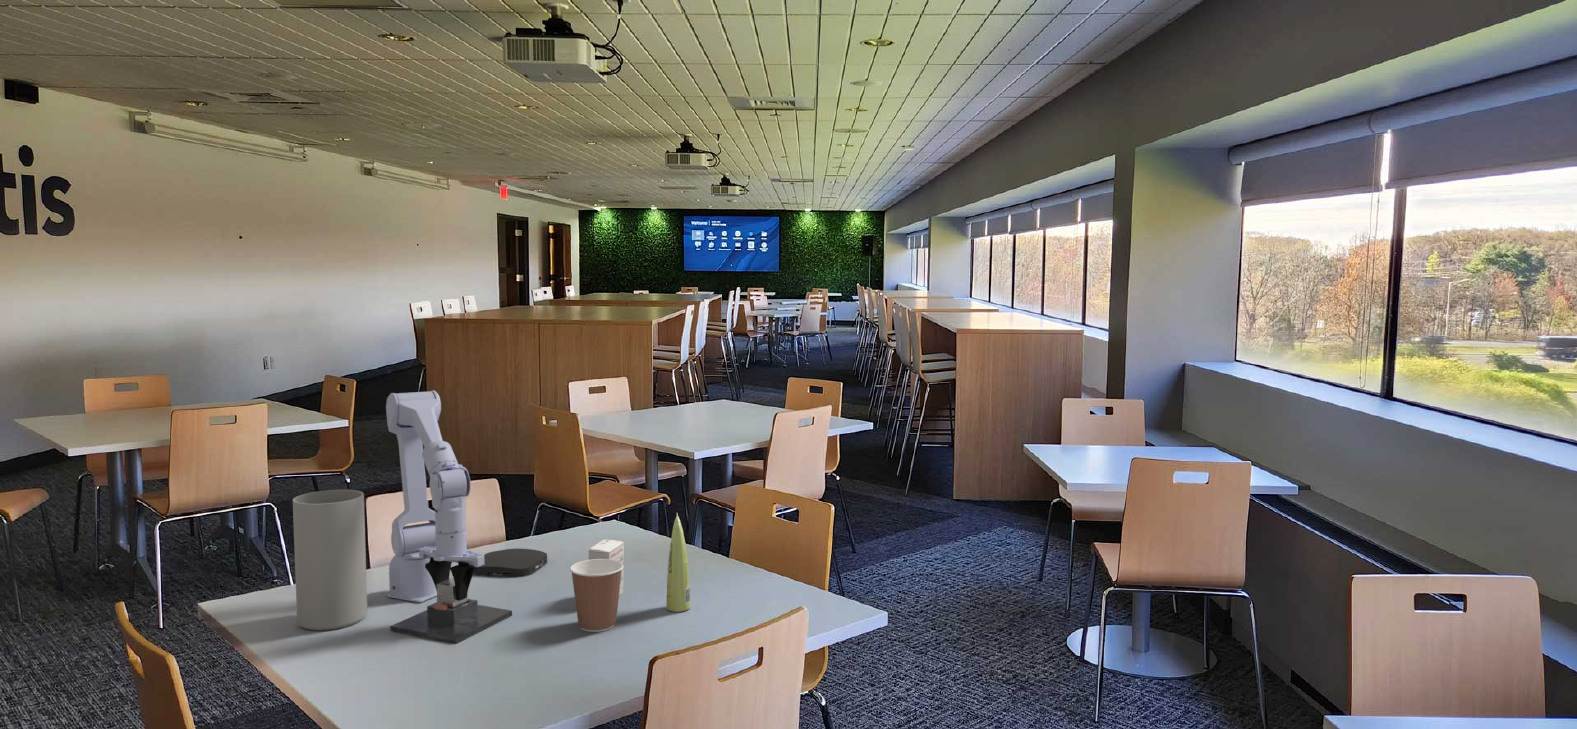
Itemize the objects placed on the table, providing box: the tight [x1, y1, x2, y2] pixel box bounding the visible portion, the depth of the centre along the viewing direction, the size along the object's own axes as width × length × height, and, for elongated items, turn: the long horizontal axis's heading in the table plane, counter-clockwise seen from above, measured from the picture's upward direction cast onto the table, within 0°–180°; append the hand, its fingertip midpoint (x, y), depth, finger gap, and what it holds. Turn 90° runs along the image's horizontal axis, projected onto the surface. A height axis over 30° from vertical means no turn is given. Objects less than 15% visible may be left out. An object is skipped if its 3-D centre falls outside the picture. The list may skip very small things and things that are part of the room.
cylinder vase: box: [292, 489, 368, 631], centre depth 179 cm, size 12×12×25 cm
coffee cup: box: [569, 559, 624, 633], centre depth 178 cm, size 10×10×12 cm
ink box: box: [588, 539, 625, 597], centre depth 193 cm, size 9×5×12 cm, turn 168°
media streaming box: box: [474, 548, 548, 578], centre depth 215 cm, size 15×15×3 cm
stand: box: [390, 598, 513, 644], centre depth 179 cm, size 16×16×5 cm
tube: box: [666, 512, 691, 613], centre depth 188 cm, size 6×5×20 cm
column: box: [436, 577, 469, 609], centre depth 178 cm, size 4×4×7 cm
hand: (452, 597), depth 178 cm, fingers closed on column, 4 cm apart
